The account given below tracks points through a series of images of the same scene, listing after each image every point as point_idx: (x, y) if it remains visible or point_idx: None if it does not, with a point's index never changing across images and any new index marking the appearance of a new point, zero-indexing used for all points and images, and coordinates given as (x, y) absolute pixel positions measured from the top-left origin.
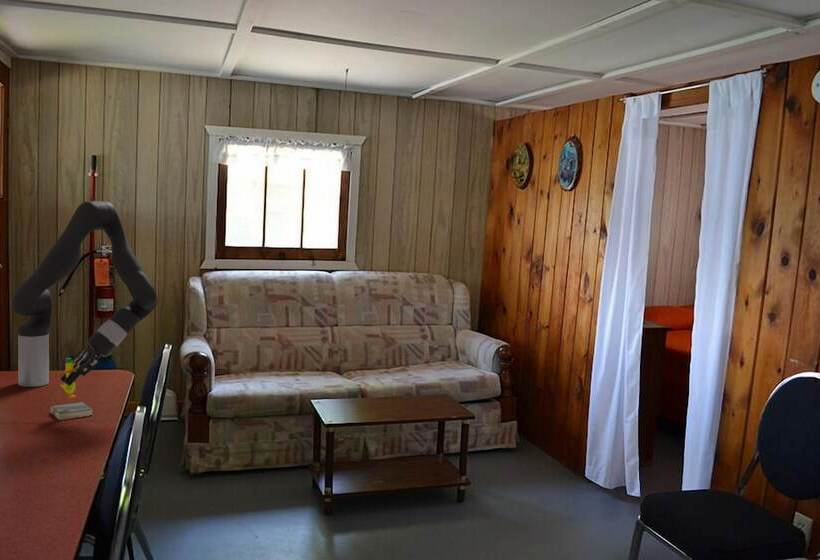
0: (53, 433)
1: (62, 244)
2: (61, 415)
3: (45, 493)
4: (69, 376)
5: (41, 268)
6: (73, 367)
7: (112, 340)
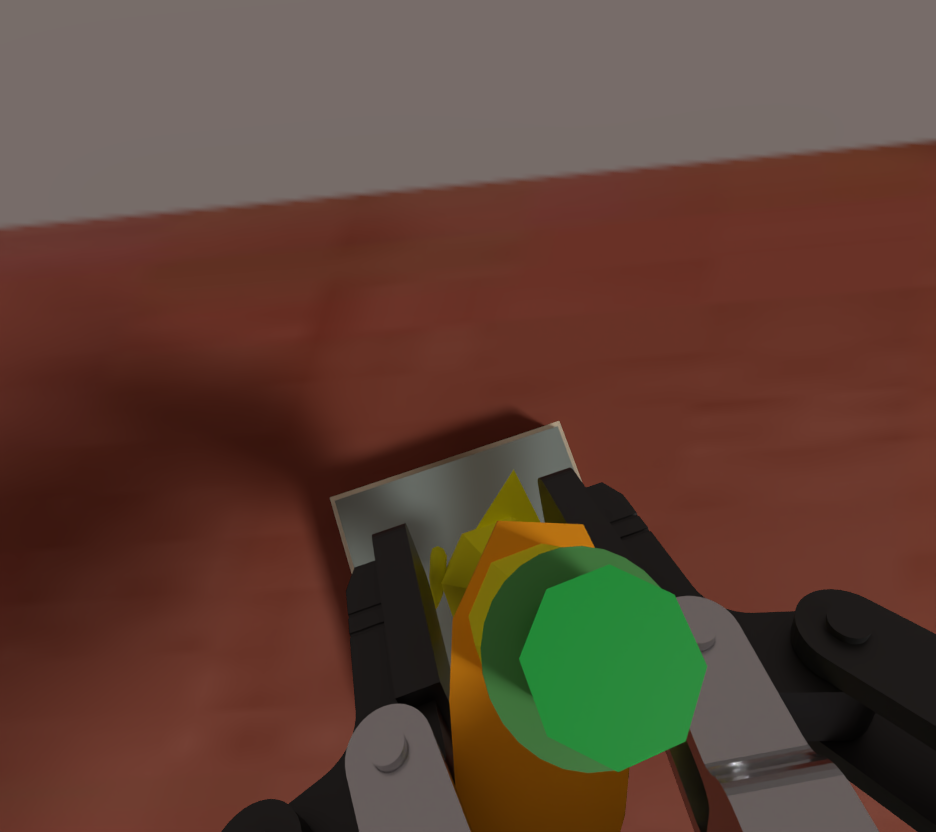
0: (21, 481)
1: None
2: (335, 510)
3: None
4: (385, 611)
5: None
6: None
7: None
